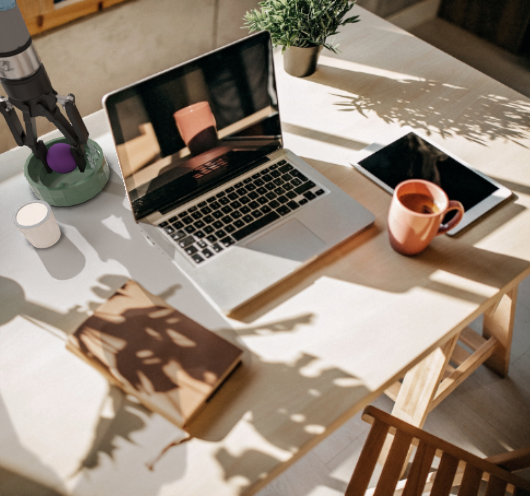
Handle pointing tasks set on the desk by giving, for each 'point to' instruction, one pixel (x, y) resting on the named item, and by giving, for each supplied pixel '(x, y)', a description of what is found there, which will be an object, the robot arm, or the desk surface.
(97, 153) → the bowl
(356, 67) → the desk surface
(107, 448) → the desk surface
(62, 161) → the ball
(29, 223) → the white cylinder
